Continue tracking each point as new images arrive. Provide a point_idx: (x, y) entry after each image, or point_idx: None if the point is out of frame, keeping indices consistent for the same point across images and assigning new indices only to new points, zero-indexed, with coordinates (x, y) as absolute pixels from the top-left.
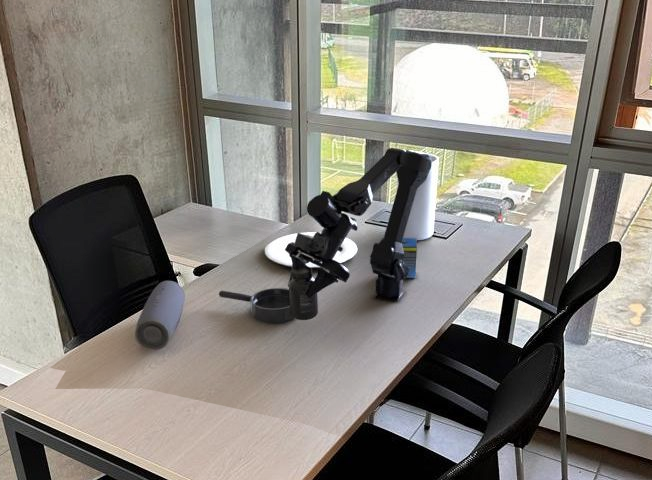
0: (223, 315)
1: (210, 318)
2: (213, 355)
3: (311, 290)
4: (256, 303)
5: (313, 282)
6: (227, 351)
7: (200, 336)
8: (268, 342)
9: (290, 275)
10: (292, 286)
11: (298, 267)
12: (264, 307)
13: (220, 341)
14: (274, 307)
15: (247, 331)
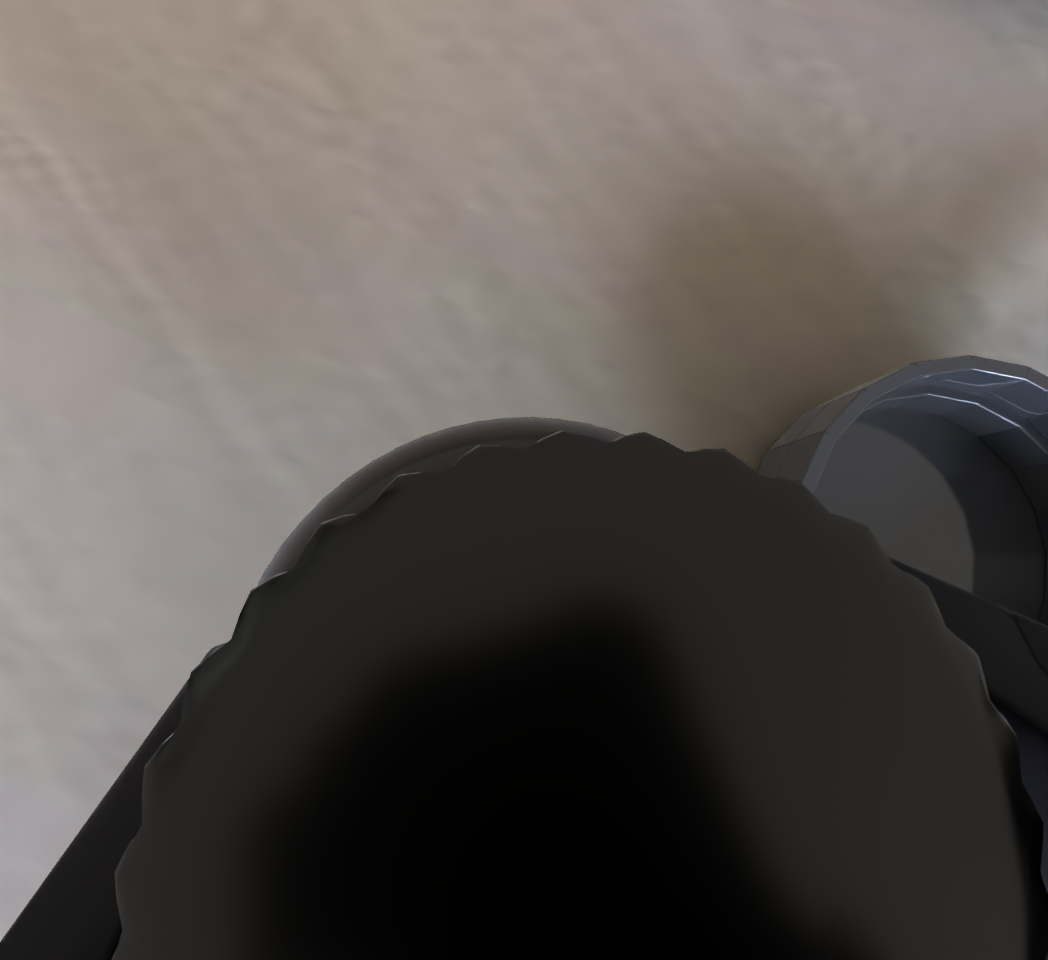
0: (970, 242)
1: (958, 163)
2: (516, 28)
3: (132, 764)
4: (1021, 446)
5: (82, 954)
6: (526, 108)
7: (762, 42)
8: (524, 358)
9: (924, 575)
10: (442, 432)
11: (930, 837)
12: (977, 500)
13: (659, 116)
14: (954, 563)
15: (715, 295)
